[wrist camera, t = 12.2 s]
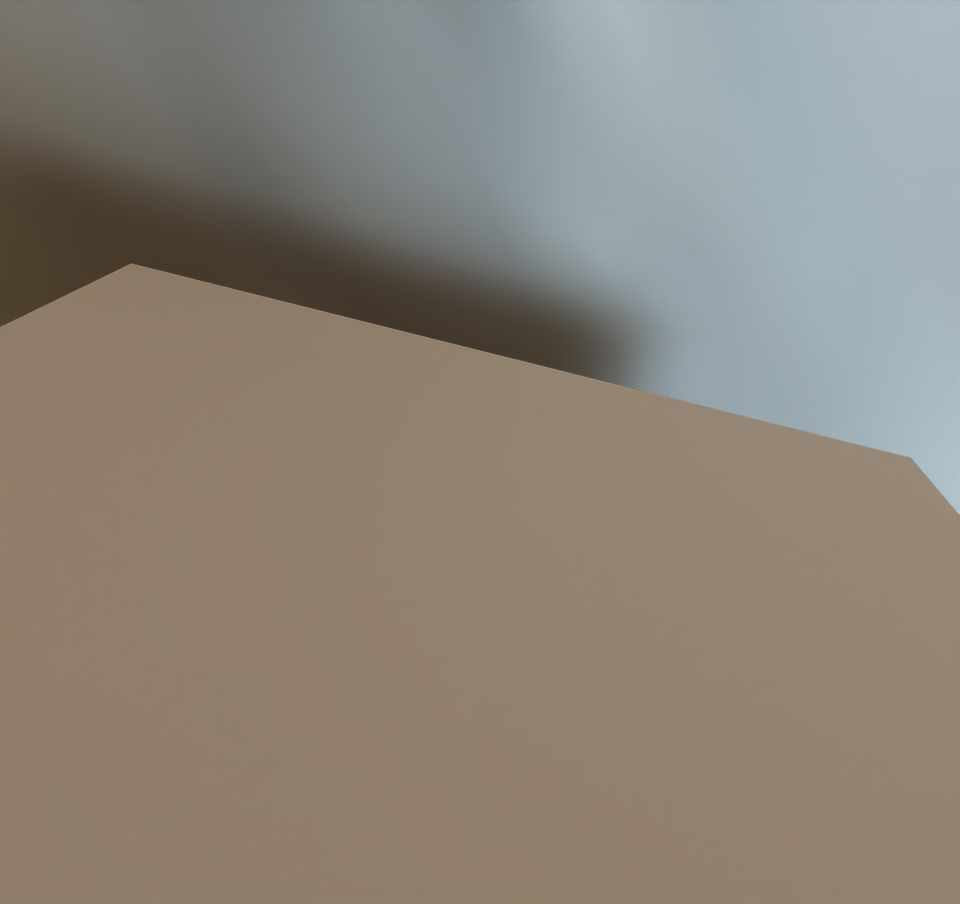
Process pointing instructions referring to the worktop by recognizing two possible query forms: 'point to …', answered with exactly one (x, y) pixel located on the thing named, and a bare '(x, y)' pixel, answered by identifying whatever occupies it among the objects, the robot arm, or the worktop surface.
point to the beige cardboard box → (449, 627)
